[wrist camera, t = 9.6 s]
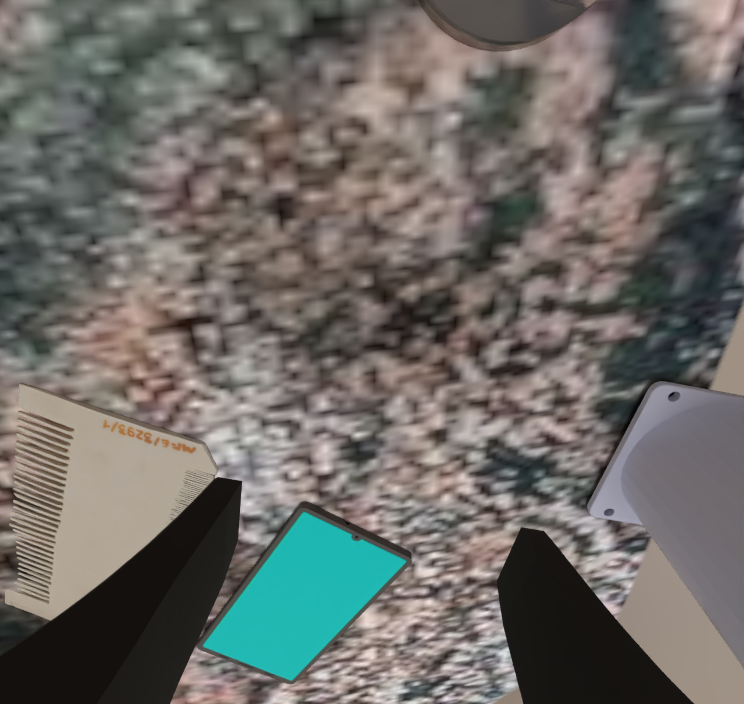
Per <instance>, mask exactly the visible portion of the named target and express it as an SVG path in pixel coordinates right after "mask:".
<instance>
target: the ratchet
mask: <svg viewBox="0 0 744 704" xmlns="http://www.w3.org/2000/svg"><path fill="white" fill-rule="evenodd" d="M596 1H597V0H596ZM596 1H595V2H596ZM419 2H420V4H421V5H422V7H423V9H424V10H425V12H426V13H427V14H428V15H429V17H430V18H431V19H432V20H433V22H434V23H436V24H437V25H438V26H439V27H440V28H441V29H442V30H443V31H444V32H445V33H447V34H448V35H450V36H451V37H453V38H454V39H455V40H457V41H459V42H461V43H464V44H466V45H468V46H471V47H474V48H477V49H481V50H488V51H510V50H516V49H521V48H525V47H528V46H531V45H534V44H536V43H538V42H540V41H542V40H544V39H546V38H548V37H550V36H552V35H553V34H555V33H556V32H558V31H559V30H561V29H562V28H564V27H565V26H566V25H568V24H569V23H570V22H572V21H573V20H574V19H576V18H577V17H578V16H579V15H581V14H582V13H583V12H584V11H586V10H587V9H588V8H589V7H590V6H592V5H593V4H594V3H595V2H594V3H592V4H591V5H590V6H589V7H587V8H586V9H583V8H579V7H574V6H569V5H565V4H560V3H555V2H551V1H546V0H419Z"/></svg>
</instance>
